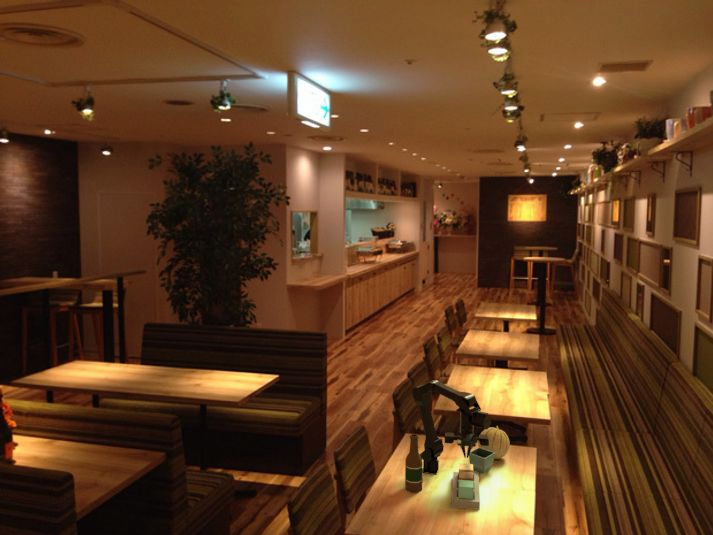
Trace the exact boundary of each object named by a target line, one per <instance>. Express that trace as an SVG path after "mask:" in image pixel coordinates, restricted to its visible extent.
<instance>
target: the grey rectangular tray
mask: <svg viewBox="0 0 713 535" xmlns="http://www.w3.org/2000/svg"><path fill="white" fill-rule="evenodd" d="M479 476H480V473H478V472H473V483H474V492H473V499H463V498H458V489H459V471H453V473H452V492H451V508H460V509H469V510H470V509H471V510H472V509H473V510H474V509H475V510H480V509H481V508H480V504H481V503H480V501H481V500H480V477H479Z"/></svg>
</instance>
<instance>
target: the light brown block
mask: <svg viewBox="0 0 713 535" xmlns="http://www.w3.org/2000/svg"><path fill="white" fill-rule="evenodd" d="M459 471H461V472H473V473H474V471H473V464H470V463H458V472H459Z"/></svg>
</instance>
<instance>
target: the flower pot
mask: <svg viewBox="0 0 713 535" xmlns="http://www.w3.org/2000/svg"><path fill="white" fill-rule="evenodd" d="M494 455H495V453H494V452H491V451H488V450H485V449H482V448H479V447H476V448H475V449H473V450H471V451H470V454H469V456H468V459H469V460H468V461H469V464H473V472H474V473H477V474H479V475H480V474H481V475H484V474H487V473H488V472H490V470H491V468H492V467H493V464H494V460H495V459H494Z"/></svg>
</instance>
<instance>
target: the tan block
mask: <svg viewBox="0 0 713 535" xmlns="http://www.w3.org/2000/svg"><path fill="white" fill-rule="evenodd" d="M458 472H459V480H469V481H473V473H474V471H473V472H461V471H459V470H458ZM459 480H458V481H459ZM473 482H474V481H473Z"/></svg>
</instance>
